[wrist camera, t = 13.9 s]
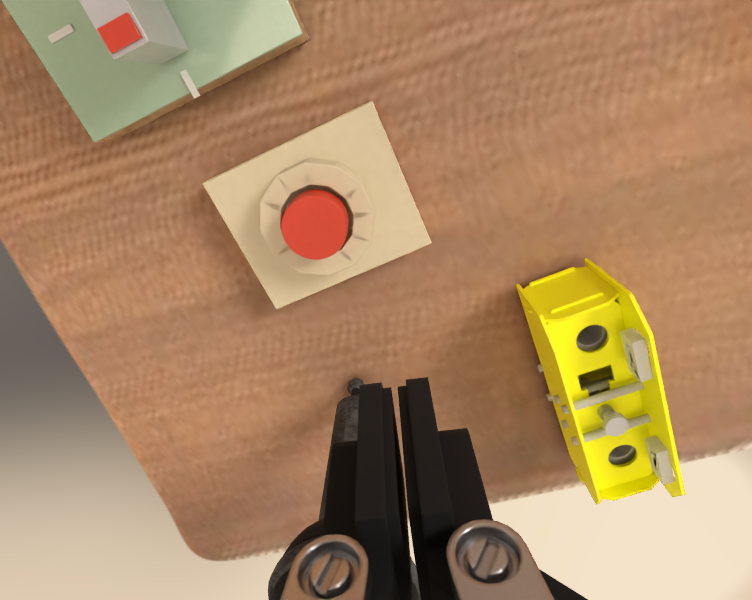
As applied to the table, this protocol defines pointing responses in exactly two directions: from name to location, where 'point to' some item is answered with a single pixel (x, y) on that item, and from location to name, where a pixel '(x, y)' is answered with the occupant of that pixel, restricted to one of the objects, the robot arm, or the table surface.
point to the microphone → (342, 432)
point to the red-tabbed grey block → (136, 29)
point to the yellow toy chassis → (603, 381)
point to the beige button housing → (332, 174)
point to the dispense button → (315, 224)
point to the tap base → (152, 81)
